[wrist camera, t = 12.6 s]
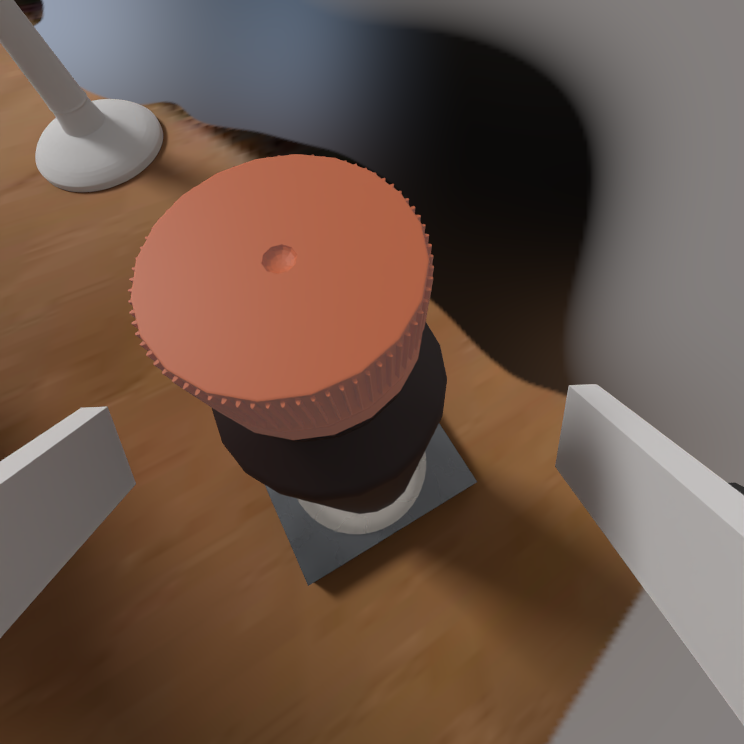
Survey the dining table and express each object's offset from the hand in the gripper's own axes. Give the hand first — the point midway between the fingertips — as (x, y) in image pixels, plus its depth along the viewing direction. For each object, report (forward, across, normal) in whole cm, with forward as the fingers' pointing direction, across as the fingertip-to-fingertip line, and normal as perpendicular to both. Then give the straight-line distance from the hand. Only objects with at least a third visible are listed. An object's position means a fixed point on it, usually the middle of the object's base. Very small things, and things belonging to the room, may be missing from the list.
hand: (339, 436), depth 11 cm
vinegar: (+11, 0, -9) cm, 14 cm away
